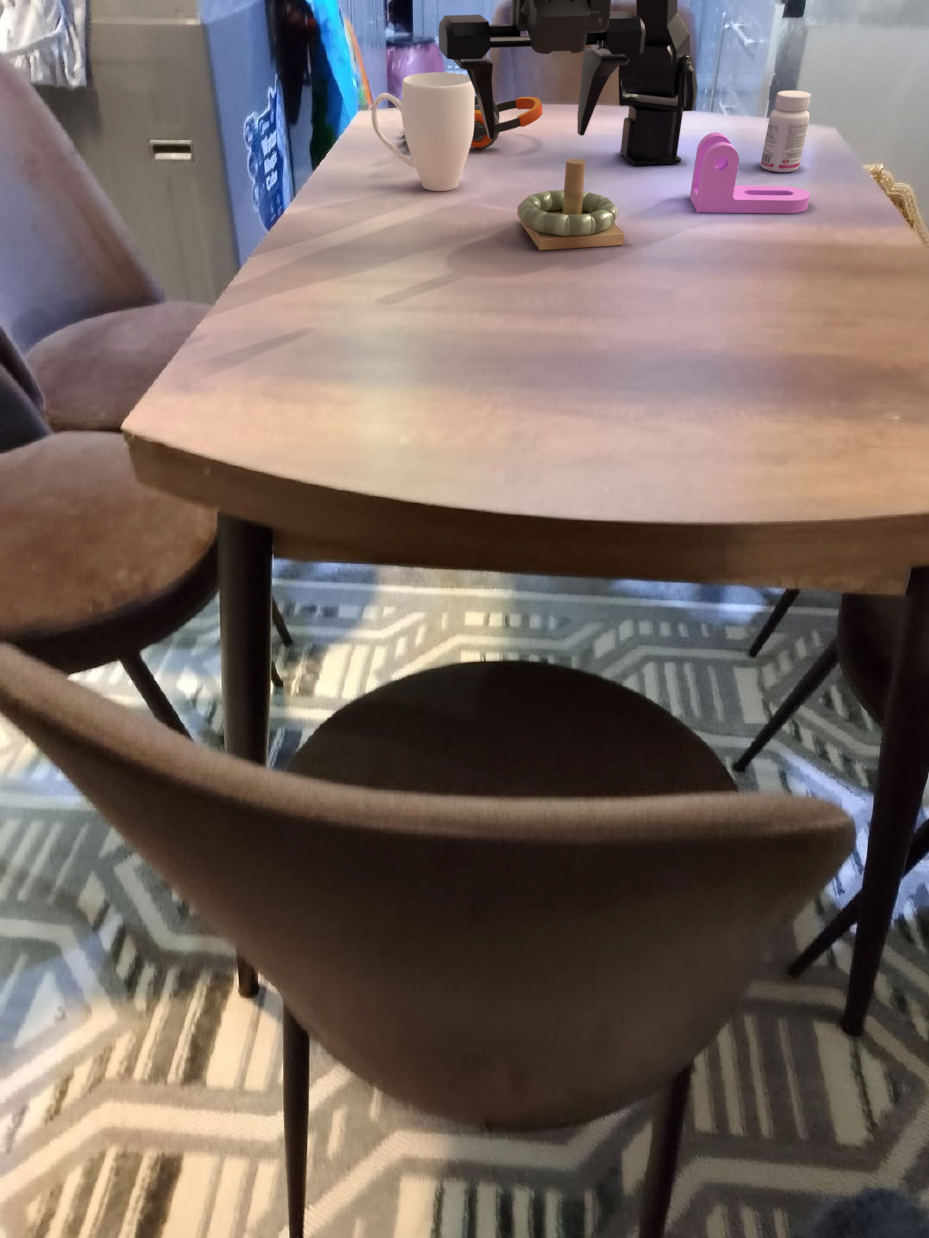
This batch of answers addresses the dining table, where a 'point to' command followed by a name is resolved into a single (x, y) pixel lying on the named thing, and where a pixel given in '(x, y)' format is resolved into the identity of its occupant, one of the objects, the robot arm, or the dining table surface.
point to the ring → (566, 225)
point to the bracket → (723, 196)
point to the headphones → (480, 133)
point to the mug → (434, 125)
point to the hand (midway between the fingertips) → (536, 136)
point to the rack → (574, 207)
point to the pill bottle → (786, 132)
